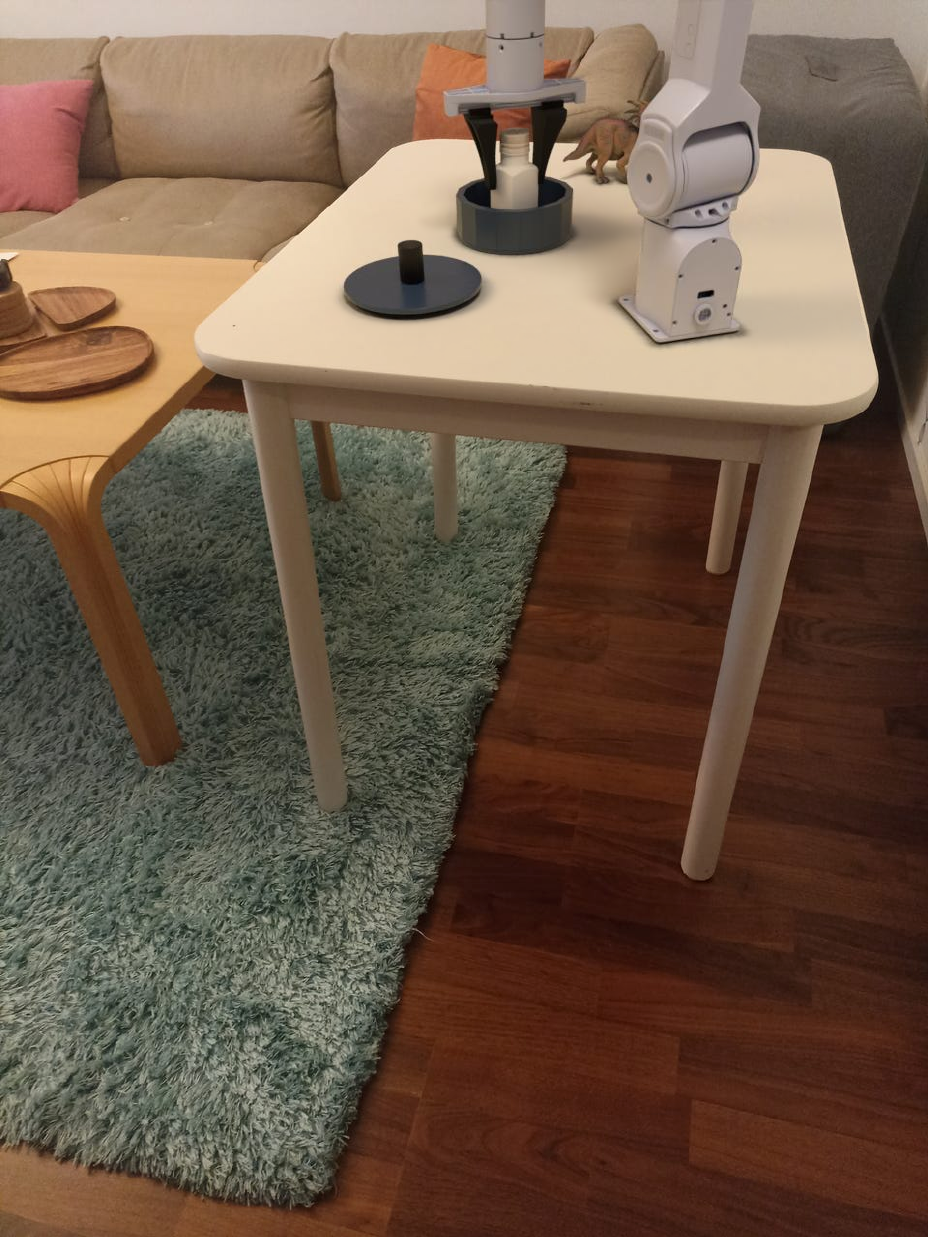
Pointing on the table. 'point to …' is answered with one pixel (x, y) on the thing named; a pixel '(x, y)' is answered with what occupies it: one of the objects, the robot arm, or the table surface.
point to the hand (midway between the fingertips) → (514, 184)
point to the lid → (412, 282)
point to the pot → (514, 220)
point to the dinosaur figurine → (610, 142)
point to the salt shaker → (515, 172)
